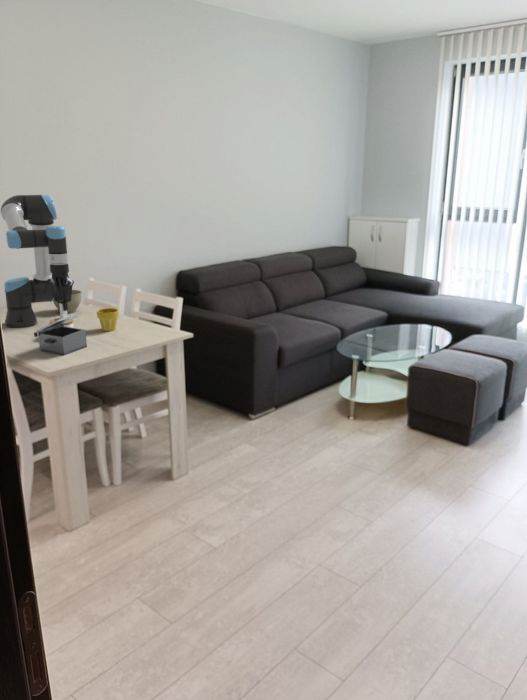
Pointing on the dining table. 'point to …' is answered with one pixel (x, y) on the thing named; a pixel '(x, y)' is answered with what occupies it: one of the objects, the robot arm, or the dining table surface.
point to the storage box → (62, 340)
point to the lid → (57, 323)
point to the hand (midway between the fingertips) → (64, 317)
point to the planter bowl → (72, 301)
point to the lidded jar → (67, 324)
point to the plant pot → (108, 318)
